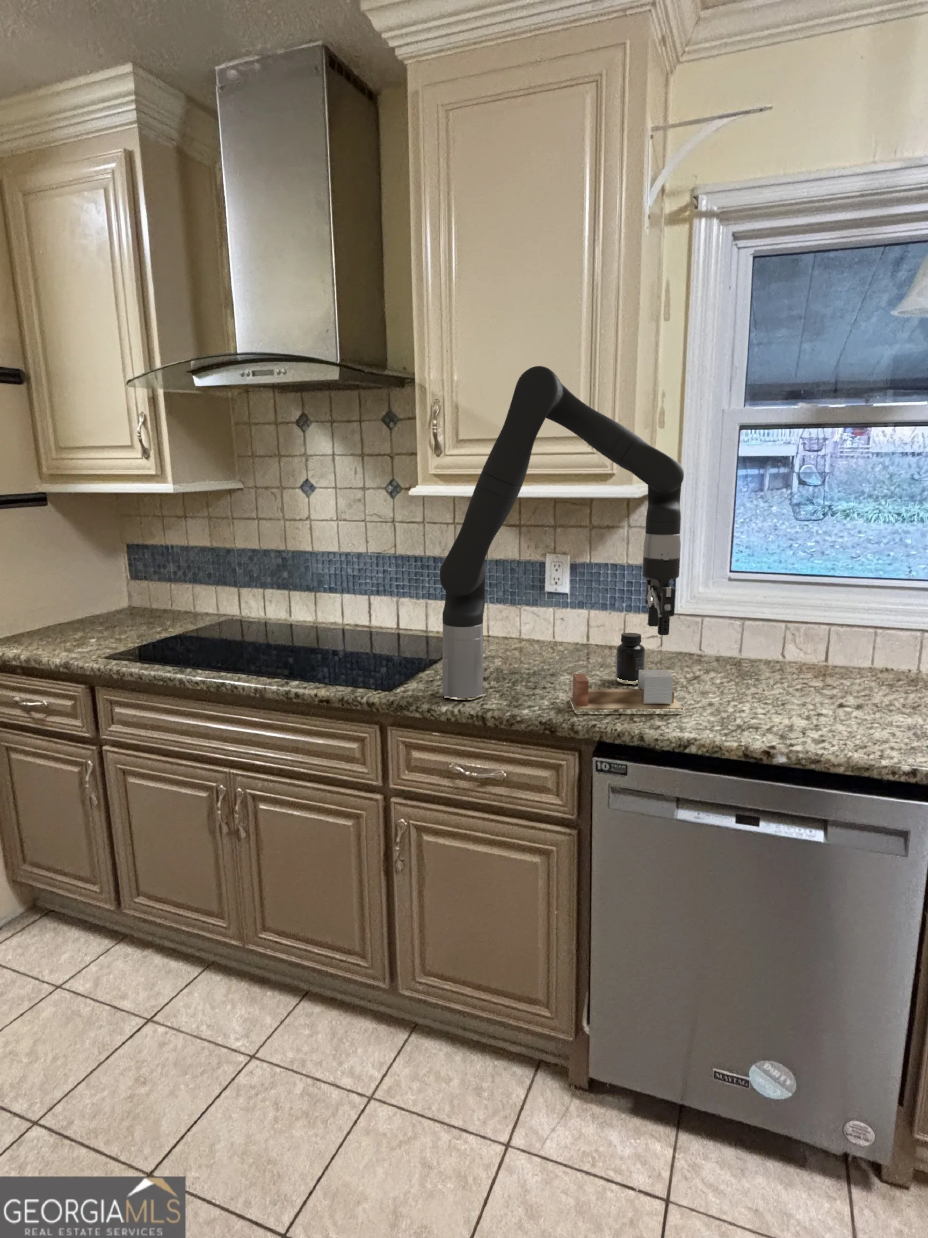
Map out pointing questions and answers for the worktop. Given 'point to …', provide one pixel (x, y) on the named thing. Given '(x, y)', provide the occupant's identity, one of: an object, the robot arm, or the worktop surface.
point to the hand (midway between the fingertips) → (657, 630)
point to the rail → (626, 706)
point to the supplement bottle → (630, 657)
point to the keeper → (656, 686)
